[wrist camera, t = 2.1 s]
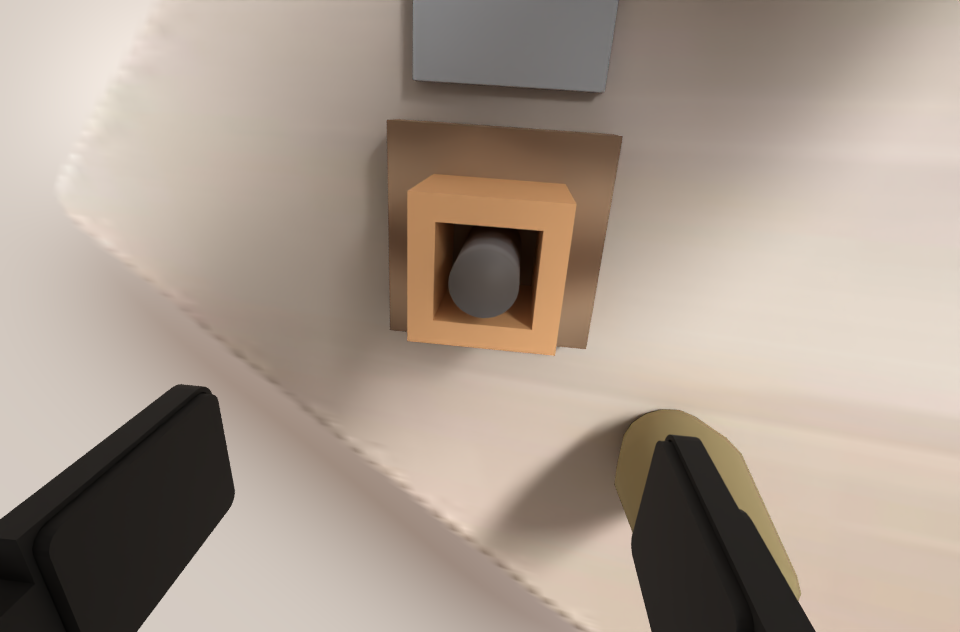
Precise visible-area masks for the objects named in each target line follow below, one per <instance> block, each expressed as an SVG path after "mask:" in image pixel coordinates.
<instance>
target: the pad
mask: <svg viewBox="0 0 960 632" xmlns="http://www.w3.org/2000/svg"><path fill="white" fill-rule="evenodd" d="M618 2H619V0H413V80H415V81H426V82H441V83H457V84H472V85H488V86H503V87H518V88H534V89H549V90H565V91H580V92H595V93H603V92H605V87H606V80H607V74H608V67H609V61H610V54H611V48H612V41H613V34H614V28H615V21H616V15H617V8H618Z"/></svg>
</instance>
